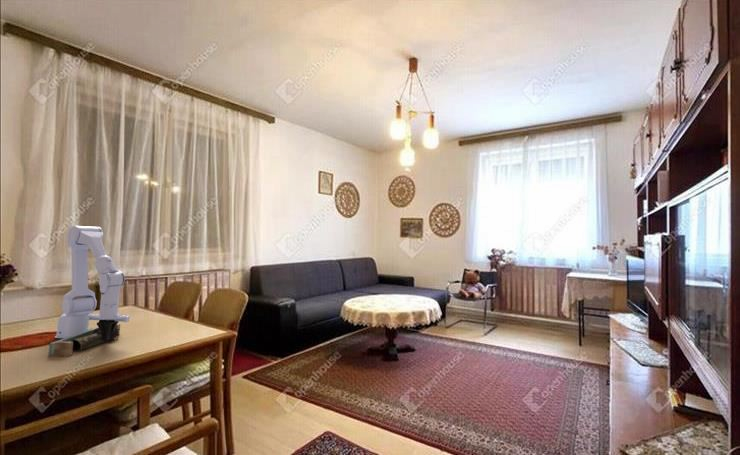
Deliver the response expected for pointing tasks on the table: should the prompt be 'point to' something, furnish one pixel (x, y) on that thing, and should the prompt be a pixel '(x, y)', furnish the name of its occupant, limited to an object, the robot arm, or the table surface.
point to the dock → (69, 343)
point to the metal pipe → (92, 339)
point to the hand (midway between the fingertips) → (106, 339)
